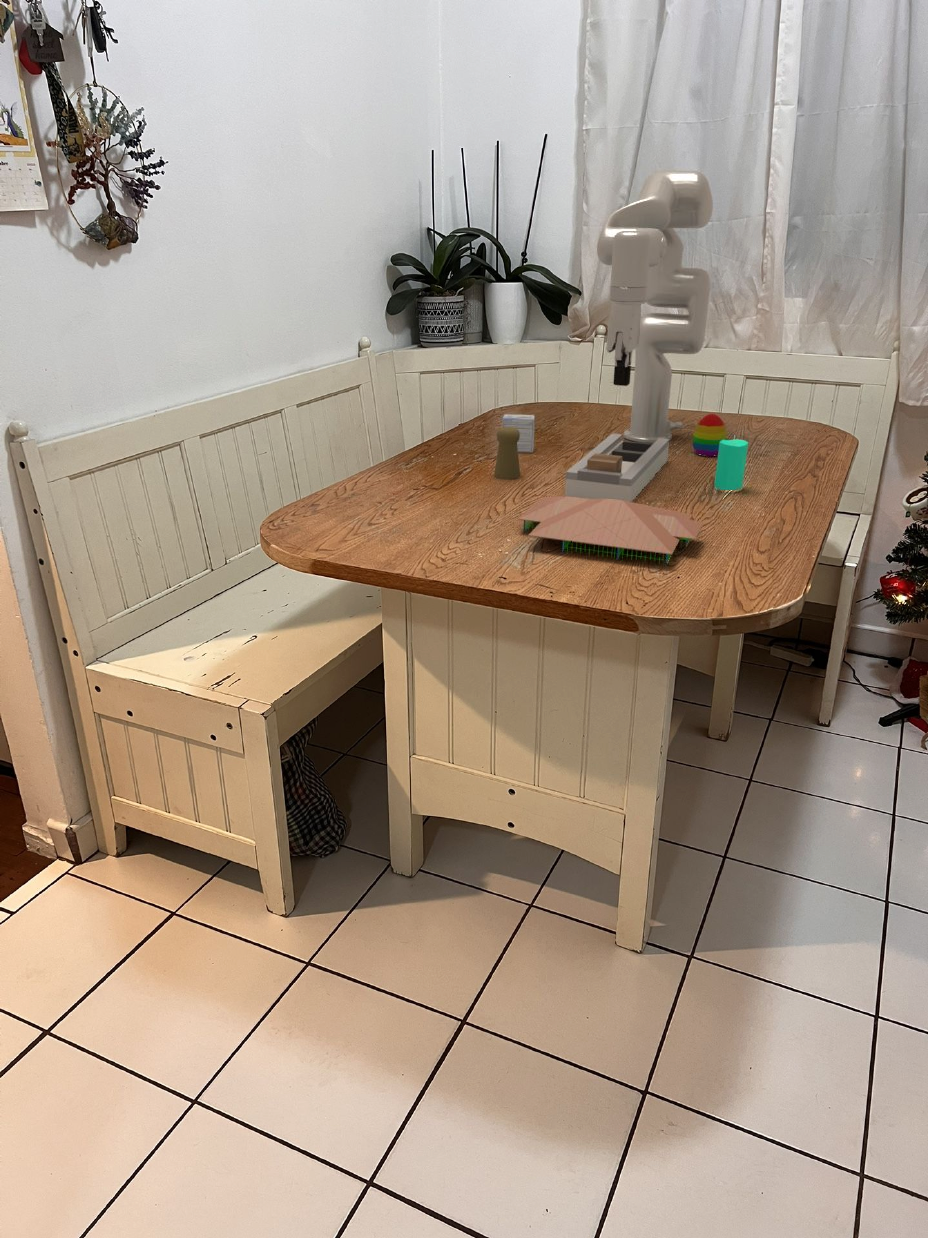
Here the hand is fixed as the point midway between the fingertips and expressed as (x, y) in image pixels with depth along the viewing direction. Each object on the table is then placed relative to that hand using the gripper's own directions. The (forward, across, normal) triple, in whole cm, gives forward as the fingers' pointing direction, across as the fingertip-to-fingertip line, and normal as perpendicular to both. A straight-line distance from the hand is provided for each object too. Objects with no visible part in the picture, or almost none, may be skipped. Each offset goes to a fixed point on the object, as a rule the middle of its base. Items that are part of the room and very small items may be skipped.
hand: (621, 384), depth 199 cm
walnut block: (+17, +12, 0) cm, 21 cm away
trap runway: (+22, -2, 0) cm, 22 cm away
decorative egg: (+22, -33, +15) cm, 42 cm away
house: (+21, +38, +9) cm, 45 cm away
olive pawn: (+22, +6, -24) cm, 33 cm away
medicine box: (+22, -17, -29) cm, 40 cm away
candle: (+22, -4, +24) cm, 33 cm away
